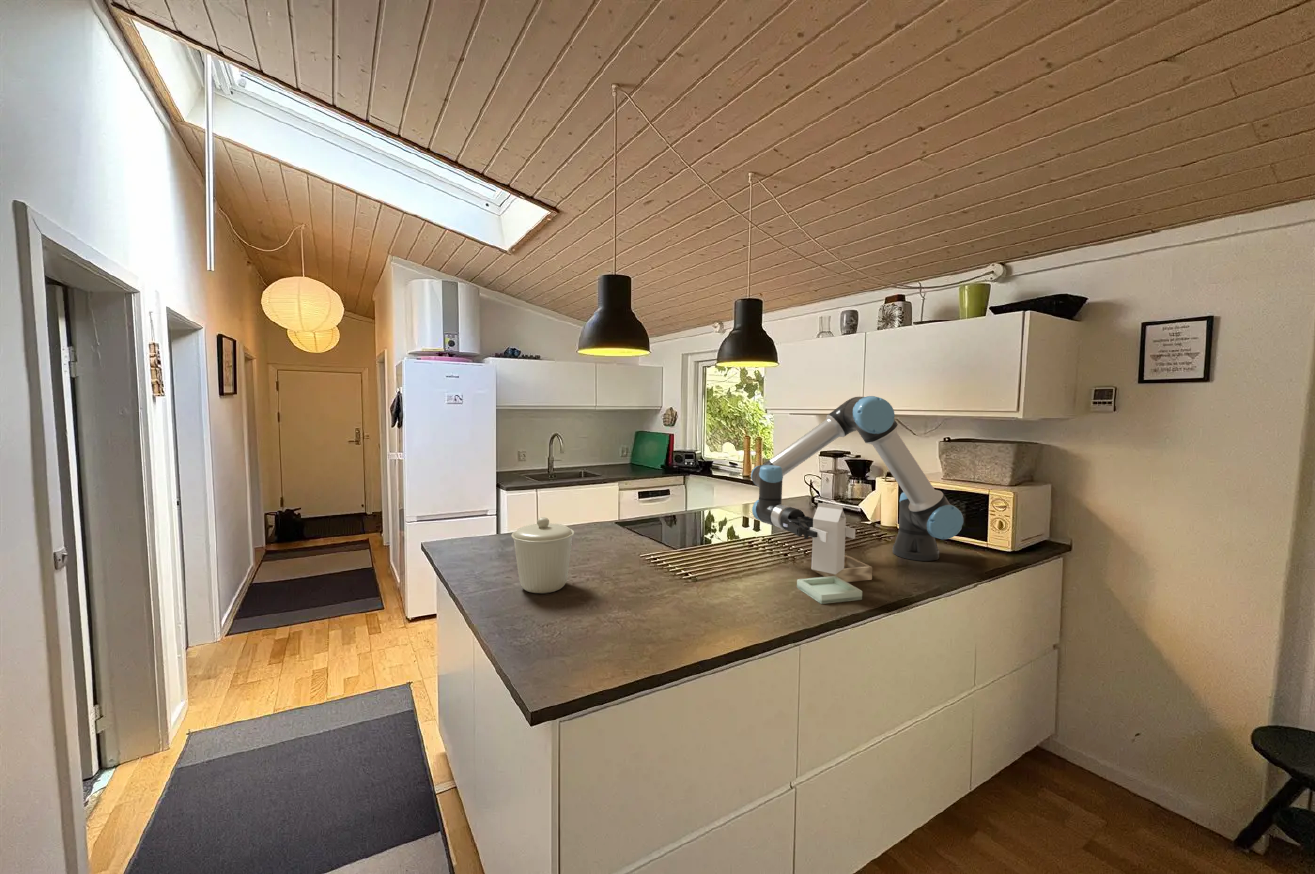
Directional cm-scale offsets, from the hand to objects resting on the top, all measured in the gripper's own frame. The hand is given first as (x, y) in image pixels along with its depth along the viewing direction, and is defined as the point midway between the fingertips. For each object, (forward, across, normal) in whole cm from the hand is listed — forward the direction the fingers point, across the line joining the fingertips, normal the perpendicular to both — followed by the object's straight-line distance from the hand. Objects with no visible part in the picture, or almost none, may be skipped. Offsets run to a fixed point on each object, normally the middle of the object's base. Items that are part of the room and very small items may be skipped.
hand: (840, 535), depth 148 cm
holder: (-15, -16, -18) cm, 29 cm away
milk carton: (-5, 0, -11) cm, 12 cm away
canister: (-43, +74, -19) cm, 87 cm away
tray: (-4, 0, -18) cm, 19 cm away
